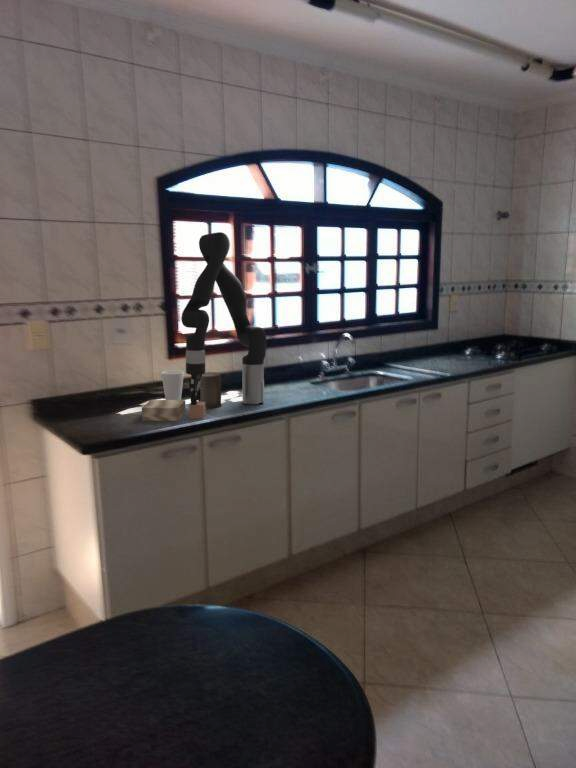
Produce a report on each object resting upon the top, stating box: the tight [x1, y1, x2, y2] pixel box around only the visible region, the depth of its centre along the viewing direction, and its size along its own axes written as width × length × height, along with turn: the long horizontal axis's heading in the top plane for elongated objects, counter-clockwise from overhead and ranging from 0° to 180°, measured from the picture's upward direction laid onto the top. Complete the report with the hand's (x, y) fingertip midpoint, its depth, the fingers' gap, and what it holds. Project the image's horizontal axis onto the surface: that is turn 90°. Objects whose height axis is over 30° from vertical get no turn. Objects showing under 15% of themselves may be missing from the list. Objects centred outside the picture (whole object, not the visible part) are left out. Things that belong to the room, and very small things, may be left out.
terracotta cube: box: [188, 401, 206, 420], centre depth 225 cm, size 6×6×6 cm
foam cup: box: [160, 369, 185, 400], centre depth 250 cm, size 10×9×13 cm
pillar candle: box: [198, 370, 222, 409], centre depth 242 cm, size 10×10×15 cm
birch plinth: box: [141, 399, 187, 422], centre depth 225 cm, size 14×14×5 cm
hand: (195, 402), depth 224 cm, fingers open, 8 cm apart
